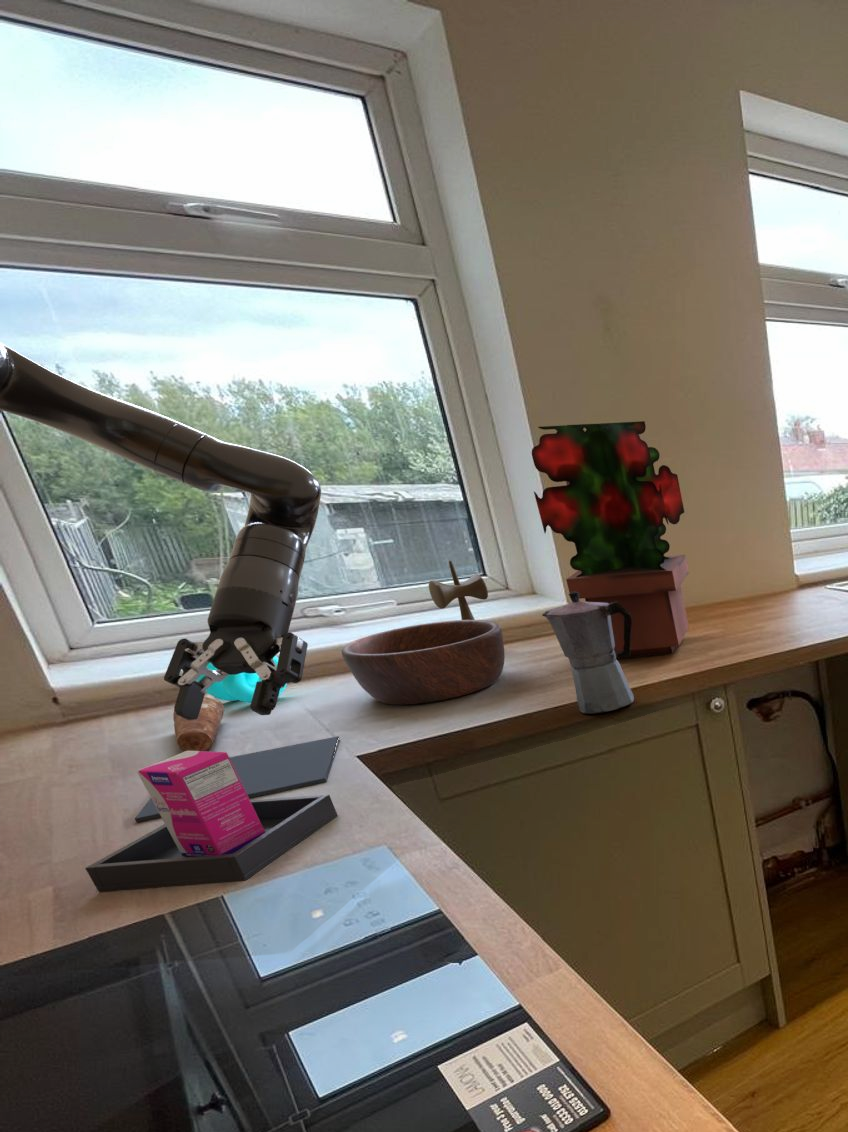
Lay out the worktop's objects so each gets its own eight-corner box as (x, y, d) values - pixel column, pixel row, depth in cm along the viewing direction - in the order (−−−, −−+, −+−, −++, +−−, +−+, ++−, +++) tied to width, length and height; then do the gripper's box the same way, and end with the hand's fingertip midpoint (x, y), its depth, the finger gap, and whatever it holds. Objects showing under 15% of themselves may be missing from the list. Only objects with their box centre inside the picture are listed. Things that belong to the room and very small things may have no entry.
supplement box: (179, 858, 95) (133, 769, 90) (230, 833, 100) (190, 748, 96) (219, 860, 94) (175, 771, 90) (269, 835, 99) (230, 749, 95)
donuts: (241, 711, 146) (217, 658, 142) (205, 707, 149) (181, 655, 145) (300, 693, 155) (279, 643, 151) (265, 690, 158) (244, 640, 154)
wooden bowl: (521, 690, 151) (505, 636, 147) (357, 722, 138) (335, 664, 134) (508, 660, 170) (494, 612, 166) (363, 686, 157) (344, 635, 153)
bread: (230, 719, 143) (217, 689, 140) (220, 751, 129) (205, 718, 126) (182, 728, 139) (168, 697, 137) (167, 762, 125) (150, 728, 123)
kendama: (448, 656, 175) (418, 563, 167) (495, 645, 182) (469, 555, 174) (459, 660, 172) (429, 565, 164) (507, 649, 179) (480, 557, 171)
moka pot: (580, 698, 145) (551, 587, 137) (664, 695, 145) (640, 583, 137) (552, 717, 136) (519, 599, 129) (641, 714, 136) (613, 596, 128)
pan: (98, 892, 90) (84, 868, 89) (211, 825, 104) (201, 803, 103) (245, 880, 91) (234, 856, 90) (338, 815, 105) (329, 794, 104)
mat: (136, 822, 106) (134, 818, 106) (175, 771, 121) (173, 768, 121) (326, 781, 115) (324, 778, 115) (339, 739, 131) (338, 736, 131)
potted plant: (695, 657, 166) (647, 421, 148) (579, 668, 162) (517, 427, 144) (707, 630, 186) (666, 420, 168) (604, 640, 182) (552, 425, 164)
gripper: (170, 587, 100) (131, 706, 94) (291, 580, 101) (259, 697, 95) (222, 619, 107) (188, 731, 101) (335, 612, 108) (308, 723, 102)
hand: (223, 715), depth 98 cm, fingers open, 8 cm apart
